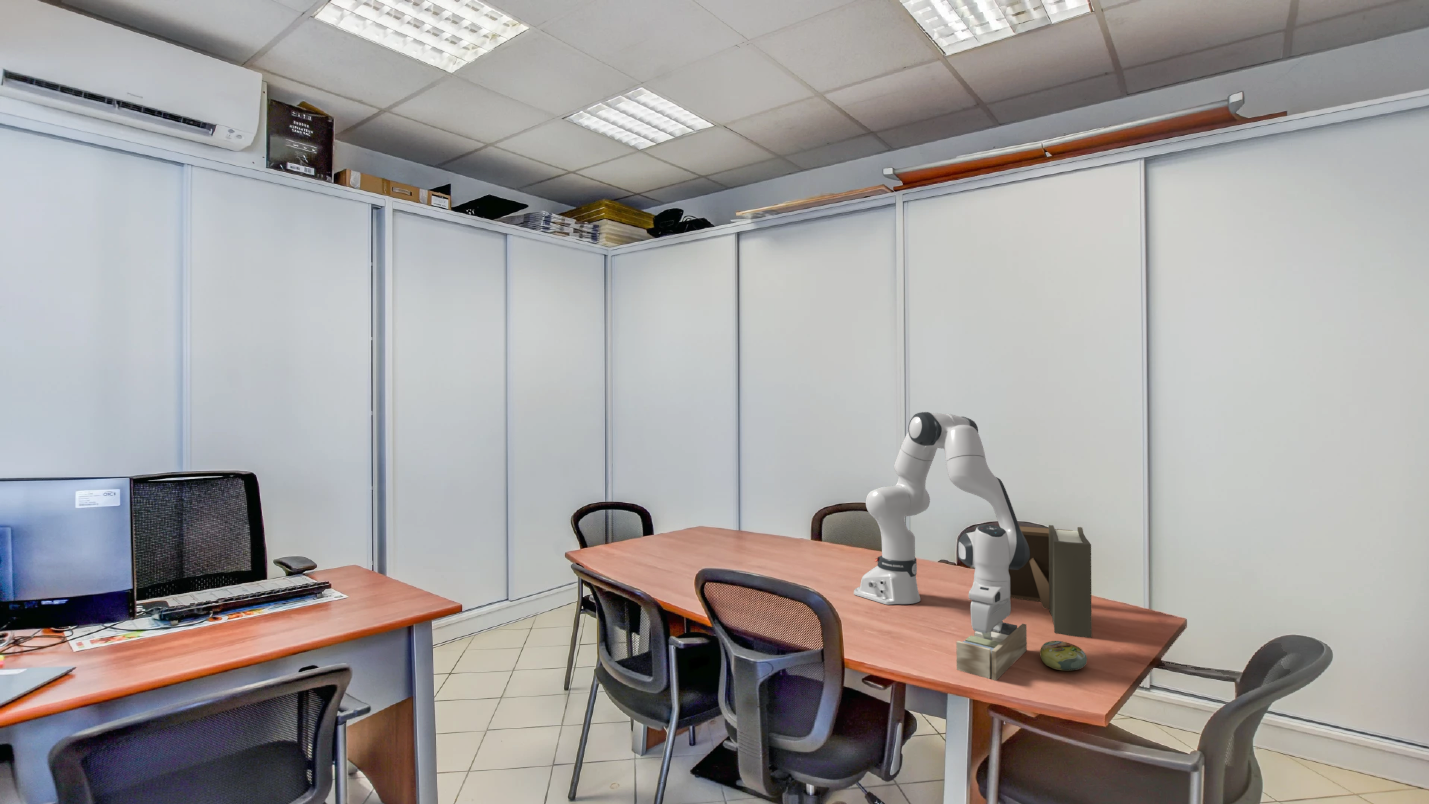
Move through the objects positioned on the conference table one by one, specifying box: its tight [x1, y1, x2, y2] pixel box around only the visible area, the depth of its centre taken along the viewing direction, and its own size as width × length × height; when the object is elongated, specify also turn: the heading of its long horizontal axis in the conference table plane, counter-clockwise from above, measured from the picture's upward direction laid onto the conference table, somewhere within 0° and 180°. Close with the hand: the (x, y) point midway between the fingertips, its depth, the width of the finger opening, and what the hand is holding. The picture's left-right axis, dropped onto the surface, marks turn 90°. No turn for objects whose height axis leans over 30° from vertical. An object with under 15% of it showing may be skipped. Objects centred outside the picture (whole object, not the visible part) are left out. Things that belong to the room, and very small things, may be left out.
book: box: [1048, 524, 1093, 638], centre depth 188 cm, size 22×9×28 cm, turn 155°
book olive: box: [964, 635, 1001, 648], centre depth 160 cm, size 8×4×6 cm, turn 48°
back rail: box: [956, 623, 1028, 682], centre depth 163 cm, size 10×25×7 cm, turn 138°
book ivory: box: [973, 631, 1009, 642], centre depth 165 cm, size 8×4×6 cm, turn 48°
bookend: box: [992, 621, 1018, 635], centre depth 172 cm, size 8×7×7 cm
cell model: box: [1039, 640, 1088, 672], centre depth 159 cm, size 10×8×14 cm
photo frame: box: [1009, 525, 1074, 610], centre depth 208 cm, size 15×22×25 cm
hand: (992, 640), depth 165 cm, fingers open, 5 cm apart
